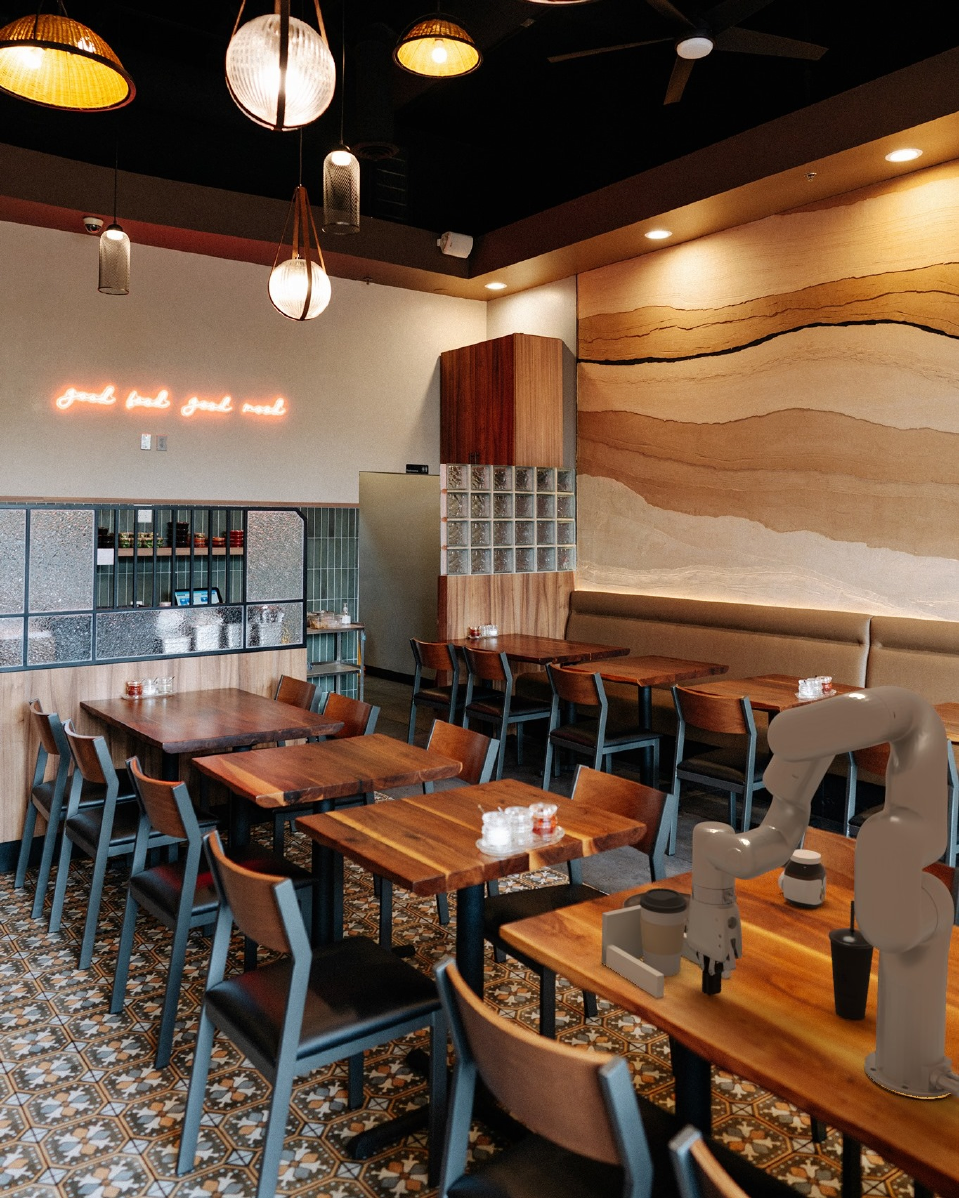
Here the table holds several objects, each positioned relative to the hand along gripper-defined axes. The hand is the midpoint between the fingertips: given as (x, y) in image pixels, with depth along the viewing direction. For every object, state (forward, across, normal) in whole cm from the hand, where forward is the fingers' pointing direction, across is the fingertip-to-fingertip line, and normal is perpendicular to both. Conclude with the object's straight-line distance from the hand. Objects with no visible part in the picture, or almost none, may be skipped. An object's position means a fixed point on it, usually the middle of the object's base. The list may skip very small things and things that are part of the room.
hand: (711, 992), depth 168 cm
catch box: (+1, +12, 0) cm, 12 cm away
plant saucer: (+1, +32, -18) cm, 36 cm away
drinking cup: (+1, -16, -17) cm, 24 cm away
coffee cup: (+1, +14, 0) cm, 14 cm away
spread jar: (+1, +27, -53) cm, 59 cm away
